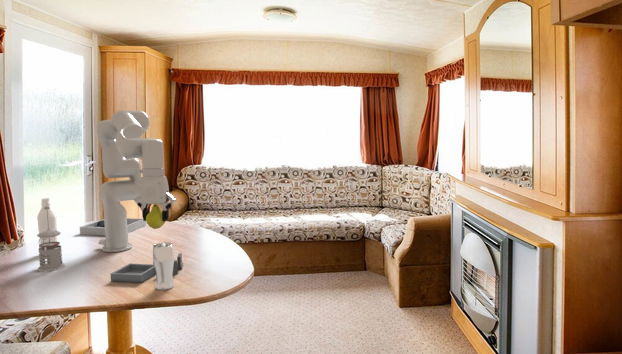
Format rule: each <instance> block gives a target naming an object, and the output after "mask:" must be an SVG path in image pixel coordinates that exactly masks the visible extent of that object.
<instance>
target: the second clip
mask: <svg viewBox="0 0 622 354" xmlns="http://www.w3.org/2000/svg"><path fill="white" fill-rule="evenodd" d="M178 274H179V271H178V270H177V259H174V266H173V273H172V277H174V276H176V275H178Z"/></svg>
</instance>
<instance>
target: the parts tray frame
mask: <svg viewBox="0 0 622 354" xmlns="http://www.w3.org/2000/svg"><path fill="white" fill-rule="evenodd" d="M101 220H104V218H103V219H100V220H97V221H94V222H91V223H88V224H84V225H81V226H79V235H89V236H90V235H91V236H105V227H97V223H98V222H99V221H101ZM145 226H147V222H146V221H143V218H135V217H133V218H131V217H127V229H128V234H129V233H132V232H134V231H136V229H137V230H139V229H141V228H145ZM131 231H132V232H131Z"/></svg>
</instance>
